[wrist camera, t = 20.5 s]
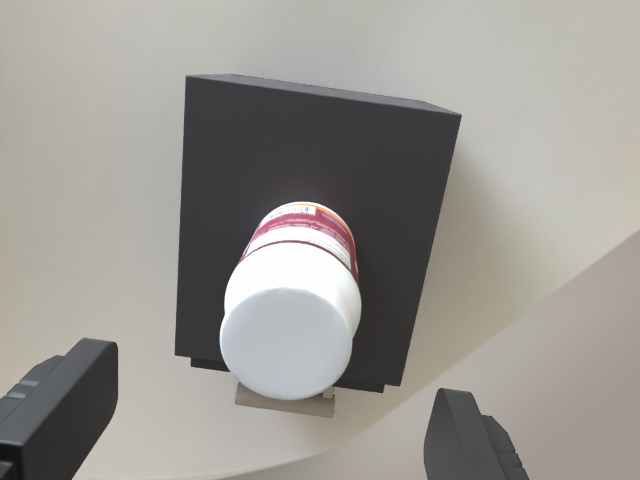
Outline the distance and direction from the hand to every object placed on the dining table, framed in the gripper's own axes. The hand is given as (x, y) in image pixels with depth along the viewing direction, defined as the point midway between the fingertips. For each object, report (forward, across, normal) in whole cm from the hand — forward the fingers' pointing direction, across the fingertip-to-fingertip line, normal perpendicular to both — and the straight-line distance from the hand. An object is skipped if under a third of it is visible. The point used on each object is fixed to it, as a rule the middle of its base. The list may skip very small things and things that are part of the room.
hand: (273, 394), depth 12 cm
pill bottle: (+11, 0, 0) cm, 11 cm away
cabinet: (+20, 0, 0) cm, 20 cm away
